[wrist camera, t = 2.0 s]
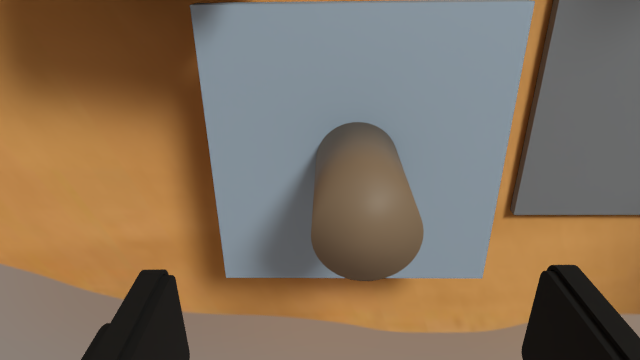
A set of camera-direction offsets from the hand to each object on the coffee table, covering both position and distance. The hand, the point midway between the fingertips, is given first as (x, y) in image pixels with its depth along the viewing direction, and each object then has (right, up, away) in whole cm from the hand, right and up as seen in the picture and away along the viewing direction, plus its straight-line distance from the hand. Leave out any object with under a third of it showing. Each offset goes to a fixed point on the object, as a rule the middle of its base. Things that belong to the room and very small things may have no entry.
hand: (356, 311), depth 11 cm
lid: (+1, +5, +9) cm, 10 cm away
